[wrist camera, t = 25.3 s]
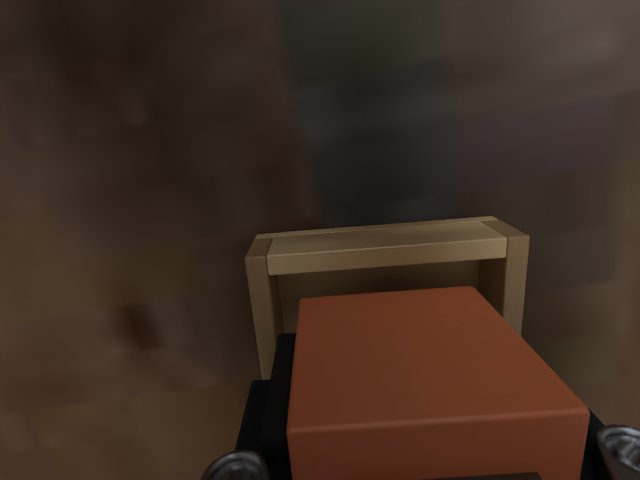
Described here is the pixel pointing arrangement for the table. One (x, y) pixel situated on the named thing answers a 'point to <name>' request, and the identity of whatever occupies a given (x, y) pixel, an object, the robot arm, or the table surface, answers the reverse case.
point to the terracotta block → (425, 393)
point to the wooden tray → (382, 268)
